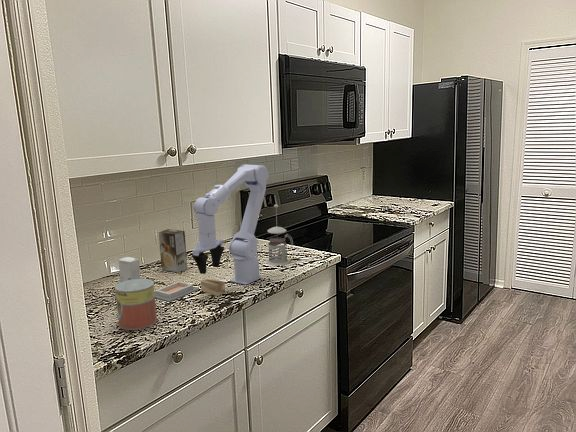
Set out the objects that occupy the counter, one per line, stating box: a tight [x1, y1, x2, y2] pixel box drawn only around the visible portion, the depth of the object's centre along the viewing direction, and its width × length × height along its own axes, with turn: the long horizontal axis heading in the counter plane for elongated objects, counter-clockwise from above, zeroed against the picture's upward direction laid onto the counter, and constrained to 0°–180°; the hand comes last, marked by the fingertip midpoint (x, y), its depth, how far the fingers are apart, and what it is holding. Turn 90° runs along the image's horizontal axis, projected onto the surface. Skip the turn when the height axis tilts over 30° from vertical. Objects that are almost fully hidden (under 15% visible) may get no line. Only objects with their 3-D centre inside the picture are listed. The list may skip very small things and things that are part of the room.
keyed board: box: [154, 281, 200, 303], centre depth 167 cm, size 14×10×2 cm
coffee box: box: [158, 228, 188, 273], centre depth 193 cm, size 9×6×16 cm
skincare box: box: [118, 256, 141, 283], centre depth 169 cm, size 6×4×12 cm
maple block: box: [200, 277, 226, 297], centre depth 167 cm, size 4×8×4 cm, turn 54°
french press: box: [266, 203, 294, 266], centre depth 198 cm, size 10×12×25 cm
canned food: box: [114, 277, 158, 331], centre depth 142 cm, size 11×11×12 cm
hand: (209, 270), depth 165 cm, fingers open, 7 cm apart
